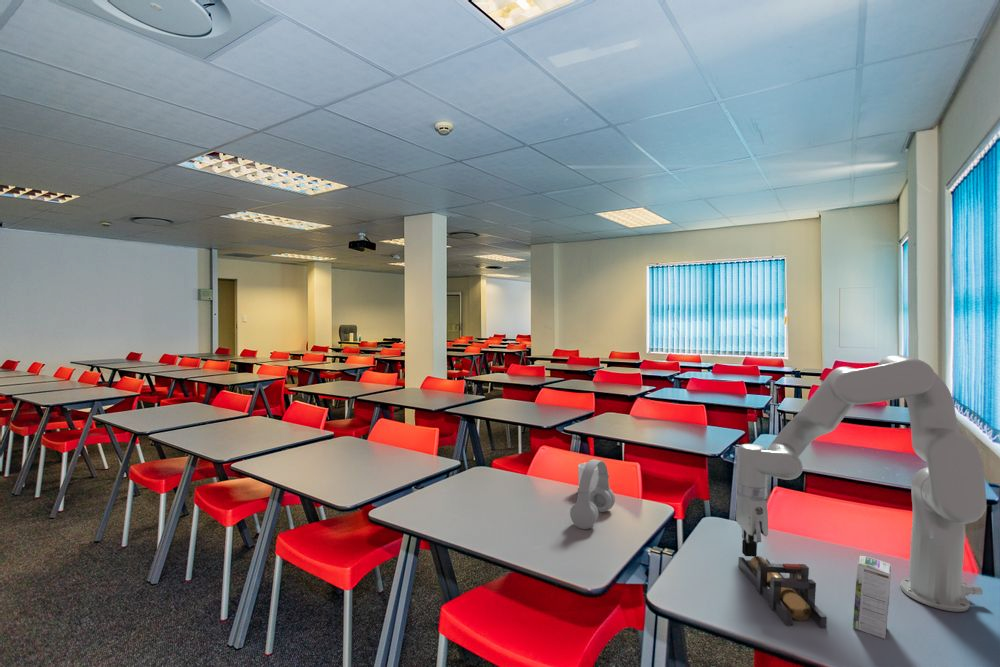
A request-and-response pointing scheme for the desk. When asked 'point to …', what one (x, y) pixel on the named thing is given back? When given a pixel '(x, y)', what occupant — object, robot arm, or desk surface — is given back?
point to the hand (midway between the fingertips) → (749, 554)
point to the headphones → (592, 496)
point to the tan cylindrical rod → (786, 594)
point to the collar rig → (795, 581)
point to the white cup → (593, 480)
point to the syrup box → (872, 596)
